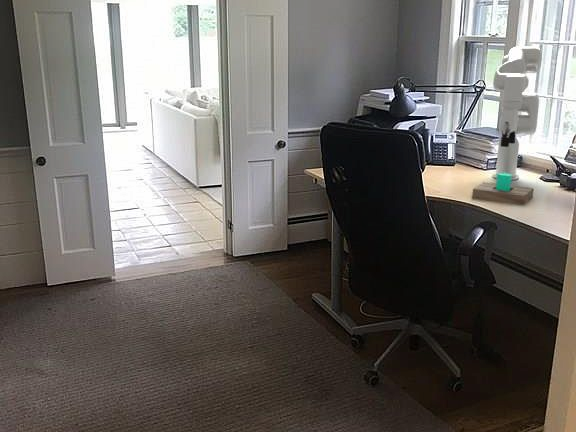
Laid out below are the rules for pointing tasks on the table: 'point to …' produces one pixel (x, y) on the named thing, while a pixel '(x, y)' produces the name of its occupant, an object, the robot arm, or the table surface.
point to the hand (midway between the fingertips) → (507, 144)
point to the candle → (503, 181)
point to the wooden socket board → (503, 193)
